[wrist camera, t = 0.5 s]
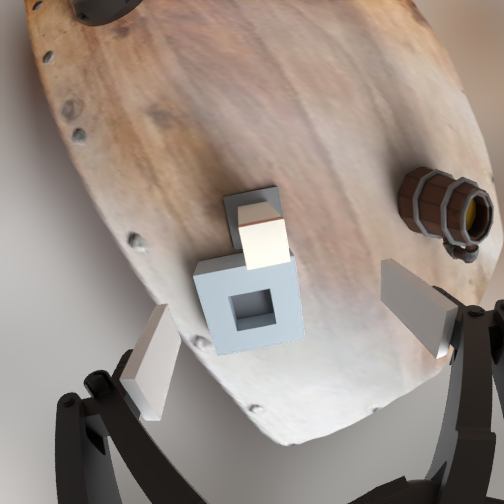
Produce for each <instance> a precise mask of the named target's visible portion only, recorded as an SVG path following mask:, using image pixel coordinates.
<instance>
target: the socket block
mask: <svg viewBox="0 0 504 504" xmlns="http://www.w3.org/2000/svg"><path fill="white" fill-rule="evenodd" d="M289 253H290V259H291V262H286V263H281V264H276V265H271V266H267V267H262V268H257V269H252V270H247V266H246V262H245V257H244V252H243V253H238V254H233V255H228V256H223V257H218V258H213V259H208V260H203V261H198V264H197V266H196V269H195V272H194V274H193V278H194V282H195V285H196V289H197V292H198V295H199V299H200V302H201V305H202V309H203V312H204V315H205V318H206V321H207V324H208V328H209V331H210V334H211V337H212V340H213V343H214V346H215V349H216V352H217V355H225V354H231V353H237V352H243V351H249V350H254V349H260V348H265V347H270V346H275V345H280V344H285V343H290V342H294V341H299V340H303V339H305V332H304V324H303V316H302V308H301V300H300V292H299V285H298V278H297V271H296V264H295V257H294V255H293V253H292V251H291V250H290V248H289Z"/></svg>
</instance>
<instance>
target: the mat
mask: <svg viewBox="0 0 504 504" xmlns="http://www.w3.org/2000/svg"><path fill="white" fill-rule="evenodd" d="M223 199H224V204H225V209H226V213H227V218H228V223H229V227H230V232H231V236H232V241H233V246H234V250H236V249H241V248H242V243H241V238H240V233H239V229H238V207H240V206H245V205H250V204H256V203H261V202H266V201H268V202H269V203H270V204H271V205H272V206H273V207H274V208H275V210H276V211H277V212H278V213H279V214H280V215H281V216H282V217H283V214H282V208H281V202H280V196H279V191H278V187H277V186H276V187H270V188H265V189H260V190H254V191H249V192H244V193H239V194H234V195H229V196H225V197H223Z"/></svg>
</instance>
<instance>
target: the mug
mask: <svg viewBox="0 0 504 504" xmlns="http://www.w3.org/2000/svg"><path fill="white" fill-rule="evenodd" d="M398 199H399V211H400V216H401V218H402V219H403V220H404V222H405V223H406V225H407V226H408V227H409V229H410V230H412V231H414V232H417V233H423V235H424V236H427V237H433V238H438V239H441V238H443V241H444V242H443V246H444V247H445V249H446V251H447V252H448V253H449V255H450V256H451V257H453V259H458V258H459V259H461V260H463V261H464V262H465V263H472V262H473V261H474V260H475V259H477V256H478V251H479V246H478V245H477V244H479V243H481V242H482V241H483V240H484V239H485V238H486V237H487V236H488V234H489V232H490V229H491V226H492V224H493V204H492V201H491V199H490V197H489V194H488V193H486V191H485V190H482V189H480V188H479V187H478V185H477V183H476V182H474V181H472V180H469V179H467V178H464V177H461V178H459V179H458V180H455V179H454V178H453V176H452V175H451V174H448V173H445V172H443V171H440V170H437V169H435V170H432V169H429V168H425V167H420V168H418V169H416V170H415V171H413V172H411V173H409V174H408V175H406V177H405V179H404V182H403V184H402V186H401V189H400V191H399V193H398ZM461 246H466V247H465V249H464V248H461Z"/></svg>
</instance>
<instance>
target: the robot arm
mask: <svg viewBox="0 0 504 504" xmlns="http://www.w3.org/2000/svg"><path fill="white" fill-rule="evenodd" d="M141 2H142V0H70V3H71V6H72V9H73V12H74V15H75V16H76V18H77V19H78V20H79V21H81V22H82V23H83V24H85V25H88V26H99V25H104V24H107V23H110V22H112V21H115V20H117V19H119V18H121V17H122V16H124V15H126V14H127V13H129V12H130V11H131V10H133V9H134V8H135V7H136V6H138V5H139V4H140V3H141ZM381 301H382V302H383V303H384V304H385V305H386V306H387V307H388V308H389V309H390V310H391V311H392V312H393V313H394V314H395V315H396V316H397V317H398V318H399V319H400V320H401V321H402V322H403V323H404V325H405V326H406V327H407V328H408V329H409V330H410V331H411V332H412V333H413V334H414V335H415V336H416V337H417V339H418V340H419V341H420V342H421V343H422V344H423V345H424V346H425V347H426V348H427V350H428V351H429V352H430V353H431V354H432V355H433V356H434V357H435V358H436V359H438V358H440V357H442V356H444V355H446V354H447V353H448V350H449V346H450V344H451V345H452V346H453V347H454V351H453V354H452V358H451V361H450V364H449V365H451V364H452V366H451V375H450V383H449V390H448V396H447V402H446V408H445V413H444V418H443V423H442V428H441V432H440V436H439V440H438V443H437V447H436V451H435V454H434V458H433V461H432V464H431V467H430V469H429V471H428V473H427V475H426V477H425V479H424V480H410V481H406V478H405V476H403V477H400V478H398V479H396V480H393V481H391V482H389V483H386V484H383V485H381V486H378V487H376V488H374V489H373V490H371V491H369V492H368V493H366V494H364V495H363V496H361V497H359V498H357V499H356V500H354V501H352V502H350V503H348V504H504V500H500V499H495V498H491V497H486V494H487V489H488V485H489V481H490V476H491V471H492V465H493V459H494V452H495V444H496V434H495V433H494V432H493V433H492V432H491V417H492V375H493V378H494V382H495V385H496V389H497V392H498V396H499V400H500V404H501V408H502V413H503V418H504V300H498V301H497V302H496V304H495V308H494V310H491V311H485V310H484V309H482V308H481V307H479V306H476V305H469V306H467V307H466V306H465V305H464V304H462V303H461V302H460V301H458V300H457V299H456V298H454V297H452V296H451V295H450V294H449V293H447V292H446V291H445V290H443V289H442V288H439V287H436V286H430V285H429V284H427V283H426V282H425V281H423V280H422V279H420V278H419V277H418V276H416V275H415V274H413V273H412V272H410V271H409V270H408V269H406V268H405V267H403V266H402V265H400V264H399V263H397V262H396V261H394V260H393V259H386V260H382V261H381ZM180 343H181V339H180V336H179V334H178V331H177V328H176V325H175V323H174V320H173V317H172V314H171V312H170V309H169V306H168V304H162V305H156V307H155V309H154V310H153V312H152V314H151V316H150V318H149V320H148V322H147V324H146V326H145V328H144V330H143V332H142V334H141V336H140V338H139V340H138V342H137V344H136V346H135V348H134V349H131V350H128V351H126V352H125V354H124V355H122V357H121V359H120V361H119V363H118V365H117V367H116V369H115V371H114V373H113V375H112V377H110V375H109V373H108V372H107V371H104V370H97V371H95V372H93V373H91V374H89V375H88V376H87V377H86V378H85V380H84V386H85V388H86V390H87V391H88V393H89V394H90V395H91V397H90V398H86V399H81V398H80V397H79V396H78V394H76V393H73V392H71V393H67V394H65V395H63V396H62V397H61V398H60V399H59V401H58V404H57V413H56V431H55V471H56V487H57V496H58V504H122V501H121V498H120V494H119V490H118V486H117V483H116V479H115V475H114V470H113V466H112V461H111V456H110V451H109V445H108V439H107V436H110V437H111V438H112V440H113V442H114V444H115V446H116V448H117V449H118V451H119V453H120V455H121V457H122V458H123V460H124V462H125V463H126V465H127V467H128V468H129V470H130V472H131V473H132V475H133V477H134V478H135V480H136V481H137V483H138V484H139V486H140V487H141V489H142V490H143V492H144V493H145V494H146V496H147V497H148V499H149V500H150V501H151V503H152V504H209V503H208V502H207V501H206V500H205V499H204V498H203V497H202V496H201V495H200V494H199V493H198V492H197V491H196V490H195V489H194V487H193V486H192V485H191V484H190V483H189V482H188V481H187V480H186V479H185V478H184V477H183V476H182V474H181V473H180V472H179V471H178V470H177V469H176V468H175V466H174V465H173V464H172V463H171V462H170V461H169V459H168V458H167V457H166V456H165V454H164V453H163V452H162V451H161V449H160V448H159V447H158V445H157V444H156V443H155V441H154V440H153V439H152V437H151V436H150V435H149V433H148V432H147V431H146V429H145V428H144V427H143V425H142V424H141V422H140V421H139V416H140V413H141V414H142V416H143V417H144V419H145V420H146V421H160V420H161V416H162V412H163V408H164V404H165V400H166V396H167V392H168V388H169V384H170V380H171V376H172V373H173V369H174V365H175V362H176V358H177V354H178V351H179V347H180Z"/></svg>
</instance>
